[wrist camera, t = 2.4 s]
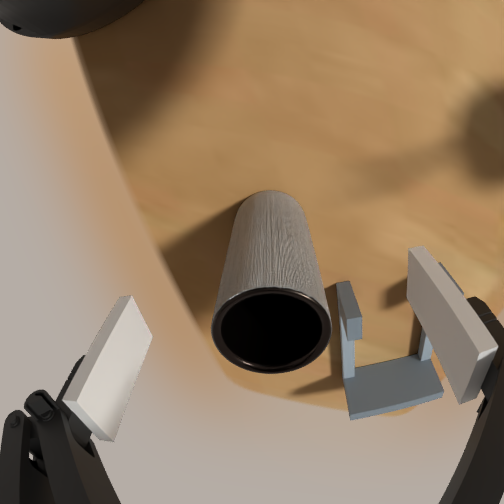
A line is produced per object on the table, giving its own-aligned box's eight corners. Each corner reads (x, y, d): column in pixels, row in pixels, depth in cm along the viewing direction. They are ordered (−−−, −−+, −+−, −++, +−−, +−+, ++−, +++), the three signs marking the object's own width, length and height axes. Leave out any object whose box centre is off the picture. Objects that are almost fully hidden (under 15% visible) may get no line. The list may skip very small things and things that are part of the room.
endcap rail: (336, 283, 23) (349, 330, 18) (440, 262, 21) (470, 301, 17) (342, 376, 28) (350, 420, 23) (425, 358, 27) (441, 397, 22)
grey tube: (221, 214, 20) (185, 322, 12) (280, 175, 19) (292, 264, 10) (261, 265, 22) (256, 387, 13) (318, 232, 21) (351, 346, 12)
